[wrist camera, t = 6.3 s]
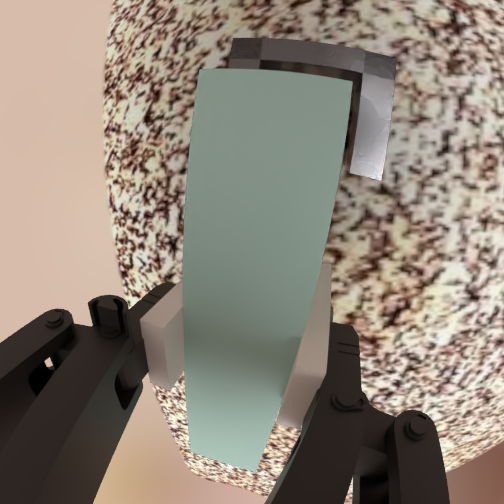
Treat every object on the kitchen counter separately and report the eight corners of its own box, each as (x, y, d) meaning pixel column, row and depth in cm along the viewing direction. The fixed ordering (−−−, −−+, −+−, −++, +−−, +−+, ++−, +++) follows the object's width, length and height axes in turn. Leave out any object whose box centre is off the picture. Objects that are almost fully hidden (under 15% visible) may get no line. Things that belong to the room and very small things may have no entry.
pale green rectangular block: (259, 105, 11) (199, 69, 5) (340, 116, 10) (352, 81, 5) (227, 379, 17) (190, 451, 12) (279, 393, 16) (255, 471, 11)
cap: (258, 63, 15) (233, 38, 10) (379, 80, 13) (396, 58, 9) (247, 149, 17) (218, 151, 13) (367, 170, 16) (381, 180, 11)
